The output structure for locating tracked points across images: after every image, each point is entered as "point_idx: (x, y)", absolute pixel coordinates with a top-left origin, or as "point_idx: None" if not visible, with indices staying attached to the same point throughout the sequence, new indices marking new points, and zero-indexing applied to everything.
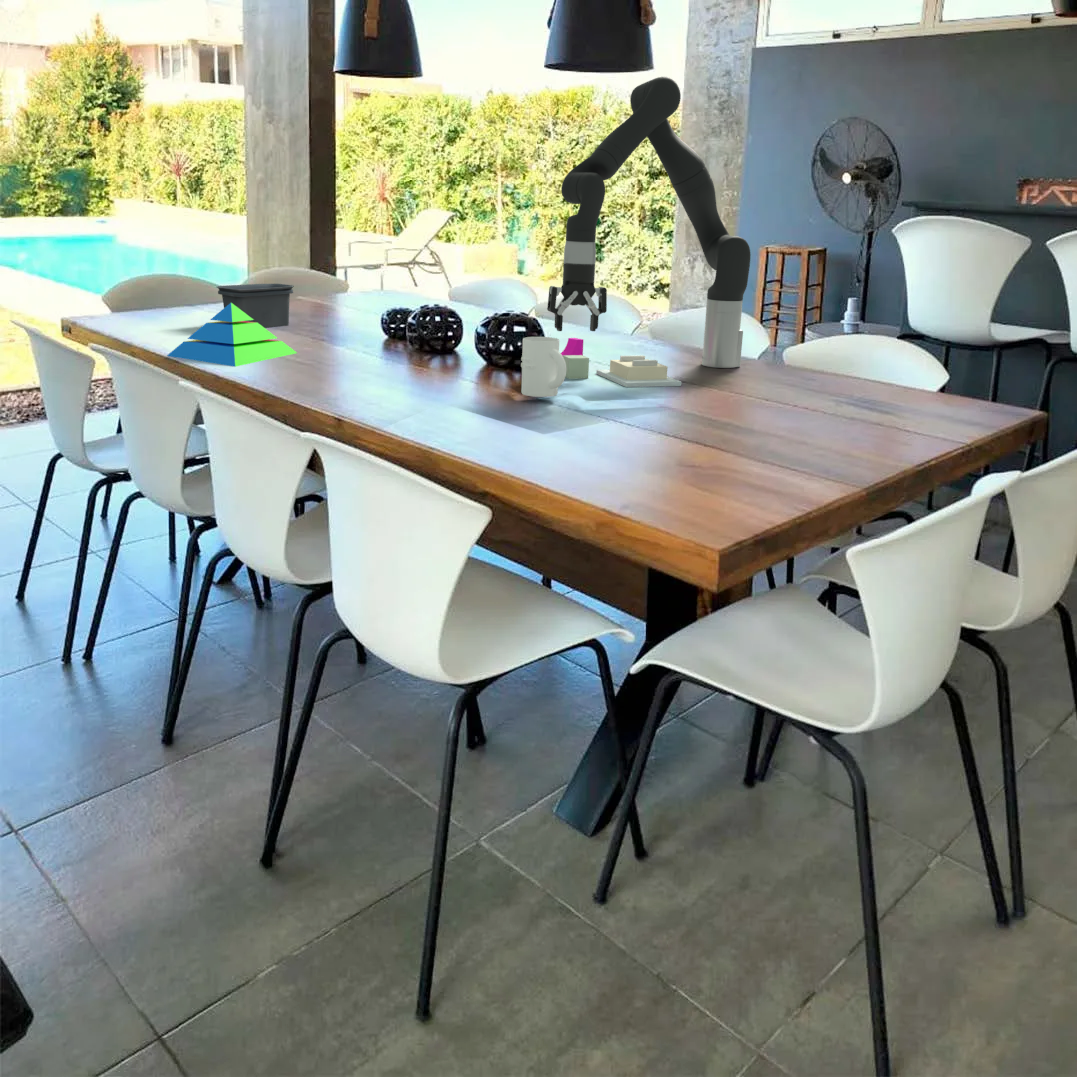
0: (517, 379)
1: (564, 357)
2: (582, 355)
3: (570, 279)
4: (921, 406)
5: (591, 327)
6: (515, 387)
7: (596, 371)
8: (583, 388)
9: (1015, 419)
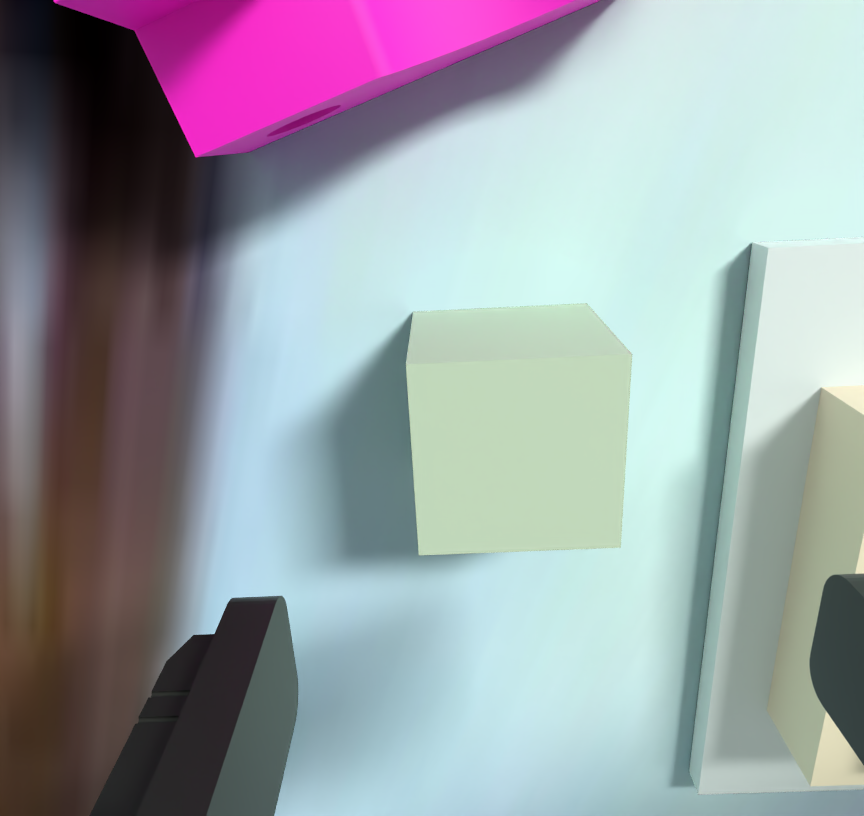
0: (20, 474)
1: (410, 407)
2: (625, 376)
3: None
4: None
5: (846, 663)
6: (5, 736)
7: (760, 248)
8: (413, 785)
9: None
